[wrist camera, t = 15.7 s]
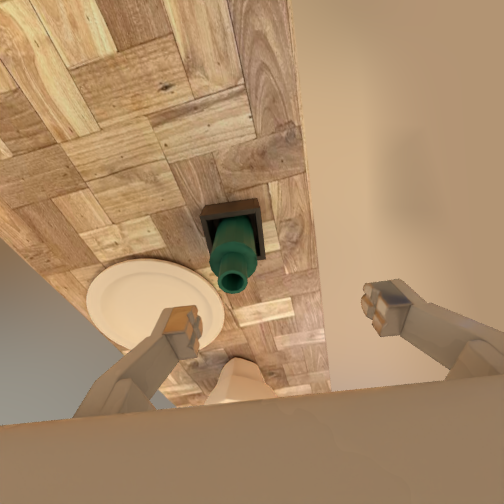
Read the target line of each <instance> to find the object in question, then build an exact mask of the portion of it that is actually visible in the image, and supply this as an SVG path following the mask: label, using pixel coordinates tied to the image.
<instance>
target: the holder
mask: <svg viewBox="0 0 504 504" xmlns="http://www.w3.org/2000/svg"><path fill="white" fill-rule="evenodd" d="M241 215H247V216H248V217H249V218H250V220H251V222H252V228H253V235H254V242H255V249H256V256H257V260H264V259H266V257H265V247H264V238H263V229H262V220H261V211H260V206H259V202H258V199H257V198H254V199H247V200H240V201H233V202H226V203H219V204H212V205H205V207H204V209H203V211H202V213H201V215H200V220H201V223H202V227H203V231H204V235H205V238H206V242H207V246H208V249H209V253H210V256H211V252H212V248H213V244H214V240H215V236H216V232H217V228H218V224H219V221H220V219H221V218H226V217H233V216H241Z"/></svg>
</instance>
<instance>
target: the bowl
mask: <svg viewBox="0 0 504 504" xmlns="http://www.w3.org/2000/svg"><path fill="white" fill-rule="evenodd" d="M267 398H277V395H276V394H275V392H274V391H273V390H272V388H271V387H270V386H268V385H266V384H265V382H264V380H263V377H262V375H261V372H260V370H259V367H258V365H257V364H255V363H253V362H250V361H247V360H245V359H242V358H236V357H235V358H233V359H231V360H230V361H229V362H228V363H227V364H226V365H225V366H224V367H223V369H222V371H221V373H220V376H219V379H218V382H217V385H216V386H215V388H214V389H213V390H212V391H211V393H210V395H209V396H208V398H207V400H206V401H205V403H204V405H209V404H218V403H228V402H238V401H248V400H257V399H267Z"/></svg>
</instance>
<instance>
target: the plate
mask: <svg viewBox="0 0 504 504" xmlns="http://www.w3.org/2000/svg"><path fill="white" fill-rule="evenodd" d="M86 304H87V309H88V313H89V315H90V317H91V319H92V321H93V322H94V324H95V325H96V326H97V328H98V329H99V330H100V331H101V332H102V333H103V334H104V335H106V336H107V337H108V338H110V339H111V340H113V341H114V342H116V343H117V344H119V345H121V346H123V347H125V348H128V349H130V350H132V349H133V348H134V347H135V346H137V345H138V344H139V343H140V342H141V341H142V340H144V339H145V338H146V337H149V336H150V335H151V333H152V331H153V329H154V327H155V325H156V323H157V321H158V319H159V317H160V314H161V312H162V310H163V309H165V308H172V307H179V306H189V305H196V306H197V309H198V313H197V315H199V316H200V317H201V319H202V323H203V332H202V336H201V338H200V339H199V340H198V341H199V344H200V346H199V350H200V349H202V348H204V347H206V346H207V345H208V344H210V343H211V342H212V341H213V340H214V339H215V338H216V337H217V336H218V334H219V333H220V331H221V329H222V327H223V323H224V317H225V316H224V306H223V302H222V300H221V298H220V296H219V294H218V293H217V291H216V290H215V288H214V287H213V286H212V285H211V284H210V283H209V282H208V281H207V280H206V279H204V278H203V277H202V276H200V275H199V274H198V273H196V272H194V271H192V270H191V269H189V268H186V267H184V266H181V265H179V264H176V263H173V262H169V261H165V260H158V259H133V260H127V261H123V262H120V263H117V264H114V265H112V266H110V267H108V268H107V269H105V270H104V271H102V272H101V273H100V274H99V275H98V276H97V277H96V278H95V279H94V280H93V281H92V283H91V285H90V287H89V289H88V292H87V297H86Z"/></svg>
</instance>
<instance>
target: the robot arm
mask: <svg viewBox="0 0 504 504" xmlns="http://www.w3.org/2000/svg"><path fill="white" fill-rule="evenodd" d="M363 291H364V292H365V294H364V295H363V297H362V298H361V305H362V309H363V311H364V313H365V315H366V316H367V317H368V318H370V319H371V320H373V321H372V325H373V327H374V328H375V330H376V331H377V333H378V334H379V336H380V337H385V336H395V335H396V336H397V335H400V336H401V337H402V338H404V339H405V340H407V341H408V342H410V343H411V344H412V345H414V346H415V347H417V348H418V349H420V350H421V351H423V352H424V353H426V354H427V355H429V356H430V357H432V358H433V359H434V360H436V361H437V362H439V363H440V364H442V365H443V366H445V367H446V368H448V369H449V370H450V371H449V373H448V375H447V376H446V378H445V380H443V381H433V382H424V383H414V384H404V385H395V386H385V387H375V388H365V389H355V390H345V391H335V392H325V393H316V394H306V395H296V396H286V397H277V398H267V399H257V400H248V401H238V402H228V403H218V404H209V405H199V406H189V407H179V408H170V409H160V410H156V408H155V407H154V406H153V405H152V403H151V402H150V401H149V400H150V399H151V398H152V396H153V395H154V394H155V392H156V391H157V390H158V388H159V387H160V386H161V384H162V383H163V382H164V381H165V379H166V378H167V377H168V375H169V374H170V373H171V371H172V370H173V369H174V367H175V366H176V365H177V363H178V362H179V360H184V359H191V358H197V355H198V351H199V346H200V344H199V341H198V340H199V339H200V338H201V336H202V332H203V323H202V319H201V317H200V316H199V315H197V313H198V309H197V306H196V305H189V306H179V307H172V308H165V309H163V310H162V312H161V314H160V317H159V319H158V321H157V323H156V325H155V327H154V329H153V331H152V333H151V335H150V336H149V337H146V338H145V339H144V340H142V341H141V342H140V343H139V344H138V345H137V346H135V347H134V348H133V349H132V350H131V351H130V352H128V353H127V354H126V355H125V356H124V357H123V358H121V359H120V360H119V361H118V362H117V363H116V364H114V365H113V366H112V367H111V368H110V369H109V370H107V371H106V372H105V373H104V374H103V375H102V376H100V377H99V378H98V379H97V380H96V381H95V382H94V384H93V385H92V387H91V388H90V390H89V392H88V393H87V395H86V397H85V398H84V400H83V401H82V403H81V405H80V406H79V408H78V409H77V411H76V413H75V414H74V416H73V418H71V419H61V420H51V421H42V422H32V423H22V424H13V425H2V426H0V504H504V332H501V331H499V330H496V329H494V328H492V327H489V326H487V325H484V324H482V323H479V322H477V321H475V320H472V319H470V318H467V317H464V316H462V315H460V314H457V313H455V312H452V311H450V310H448V309H445V308H443V307H440V306H438V305H435V304H433V303H427V302H426V301H425V300H424V299H422V298H421V297H420V296H419V295H418V294H417V293H416V292H414V290H412V289H411V288H410V287H409V286H408V285H407V284H406V283H405V282H404V281H402V280H400V279H394V280H388V281H381V282H373V283H365V285H364V287H363Z"/></svg>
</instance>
